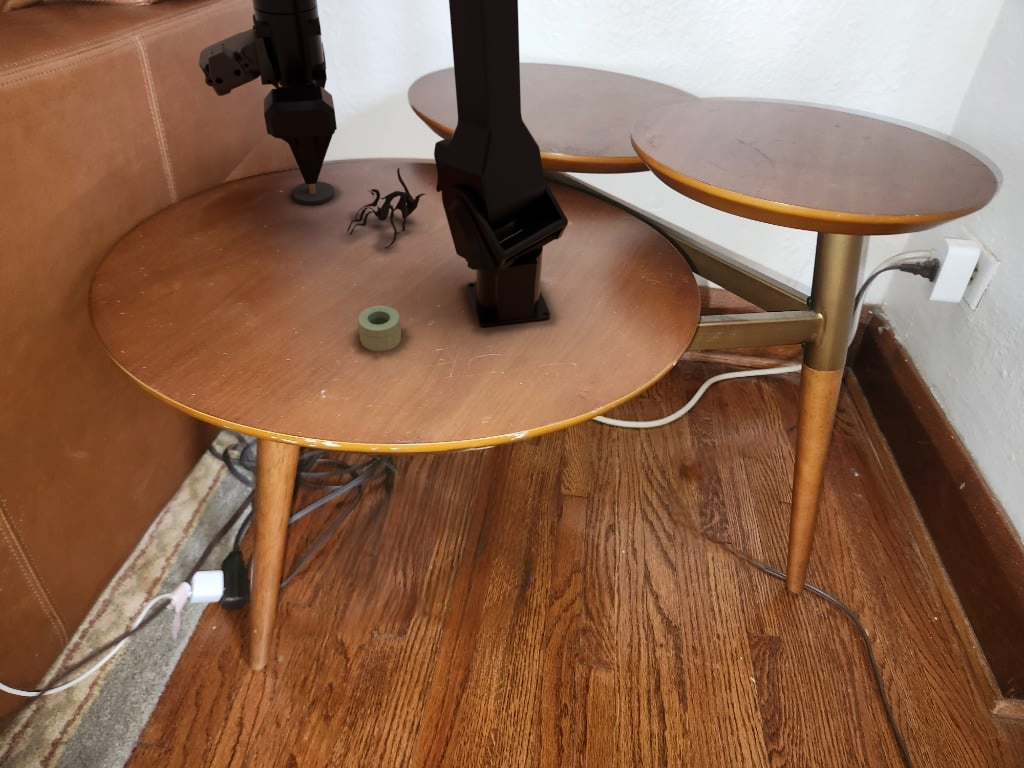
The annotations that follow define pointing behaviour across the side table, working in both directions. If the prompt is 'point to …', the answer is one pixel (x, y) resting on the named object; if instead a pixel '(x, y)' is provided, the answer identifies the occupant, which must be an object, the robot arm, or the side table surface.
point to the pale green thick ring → (379, 328)
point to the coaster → (322, 194)
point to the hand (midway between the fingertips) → (308, 162)
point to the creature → (390, 207)
